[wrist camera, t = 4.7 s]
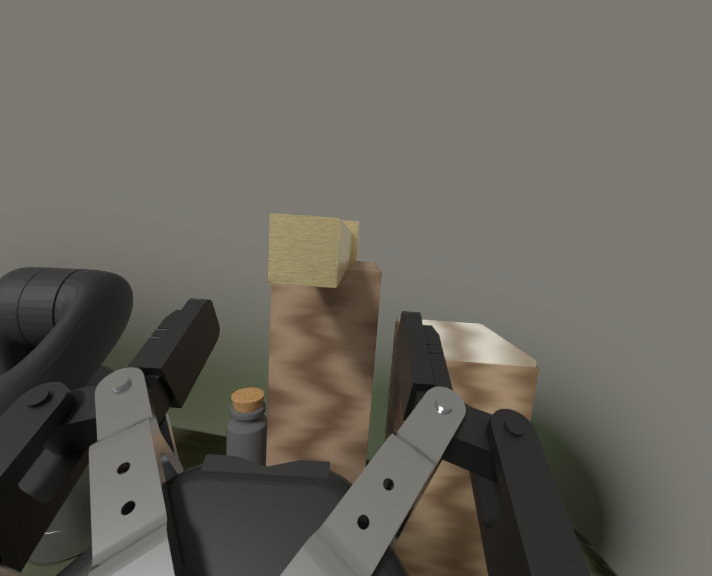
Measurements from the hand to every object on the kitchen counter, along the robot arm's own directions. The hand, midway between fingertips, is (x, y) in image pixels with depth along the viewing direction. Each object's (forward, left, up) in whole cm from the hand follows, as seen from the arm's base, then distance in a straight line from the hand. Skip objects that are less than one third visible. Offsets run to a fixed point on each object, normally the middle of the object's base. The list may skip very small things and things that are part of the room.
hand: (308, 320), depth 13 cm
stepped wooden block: (+12, +20, -35) cm, 42 cm away
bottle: (-5, +33, -35) cm, 48 cm away
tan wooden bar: (+3, +16, +1) cm, 16 cm away
